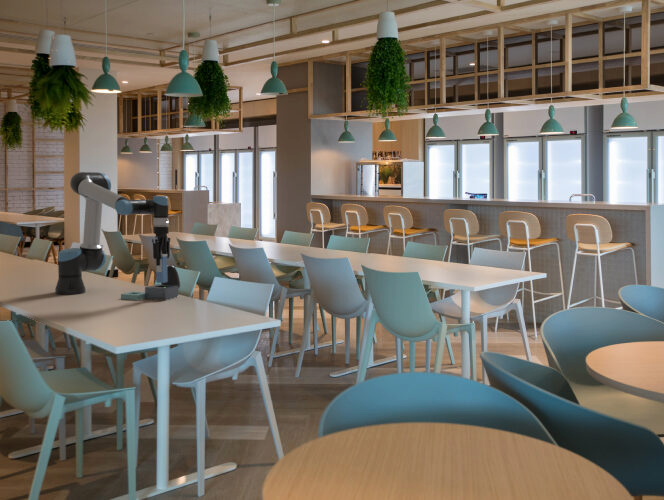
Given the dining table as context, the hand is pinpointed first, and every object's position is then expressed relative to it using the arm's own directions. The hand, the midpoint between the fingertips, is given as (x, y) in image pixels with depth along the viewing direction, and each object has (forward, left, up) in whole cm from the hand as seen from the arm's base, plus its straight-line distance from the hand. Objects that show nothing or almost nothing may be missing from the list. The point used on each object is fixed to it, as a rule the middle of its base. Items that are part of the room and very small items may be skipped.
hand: (161, 271), depth 356 cm
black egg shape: (-4, +15, -14) cm, 21 cm away
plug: (0, 0, -6) cm, 6 cm away
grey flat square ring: (-12, -6, -14) cm, 19 cm away
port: (0, 0, -14) cm, 14 cm away
